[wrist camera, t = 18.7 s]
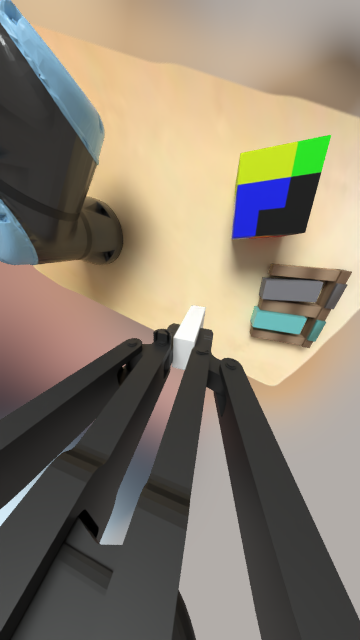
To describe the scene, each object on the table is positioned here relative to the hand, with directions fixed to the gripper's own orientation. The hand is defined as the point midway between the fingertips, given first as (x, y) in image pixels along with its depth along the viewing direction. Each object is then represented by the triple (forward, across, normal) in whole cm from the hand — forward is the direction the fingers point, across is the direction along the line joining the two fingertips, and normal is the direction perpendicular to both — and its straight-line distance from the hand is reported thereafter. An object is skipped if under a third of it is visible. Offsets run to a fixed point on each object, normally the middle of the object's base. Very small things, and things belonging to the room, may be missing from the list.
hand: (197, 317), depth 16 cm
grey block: (+25, +16, 0) cm, 30 cm away
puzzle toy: (+25, +7, +14) cm, 29 cm away
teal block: (+25, +16, -8) cm, 31 cm away
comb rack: (+24, +18, -4) cm, 31 cm away
